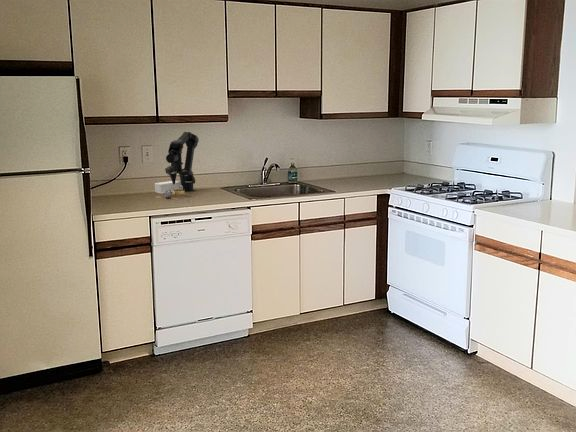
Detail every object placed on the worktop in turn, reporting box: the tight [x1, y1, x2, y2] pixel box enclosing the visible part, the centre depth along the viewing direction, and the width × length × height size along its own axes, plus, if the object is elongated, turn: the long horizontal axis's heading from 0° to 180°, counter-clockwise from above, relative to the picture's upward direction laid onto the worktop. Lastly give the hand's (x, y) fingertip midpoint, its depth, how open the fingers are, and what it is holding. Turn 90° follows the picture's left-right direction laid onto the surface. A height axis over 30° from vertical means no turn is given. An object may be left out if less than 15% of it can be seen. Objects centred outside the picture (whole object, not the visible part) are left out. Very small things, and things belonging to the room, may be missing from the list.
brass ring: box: [171, 188, 186, 196], centre depth 377 cm, size 7×7×3 cm
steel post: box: [164, 190, 172, 200], centre depth 365 cm, size 4×4×5 cm
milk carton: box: [154, 180, 183, 194], centre depth 391 cm, size 7×7×19 cm
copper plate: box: [156, 193, 194, 201], centre depth 372 cm, size 20×16×1 cm
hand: (178, 185), depth 377 cm, fingers open, 9 cm apart
